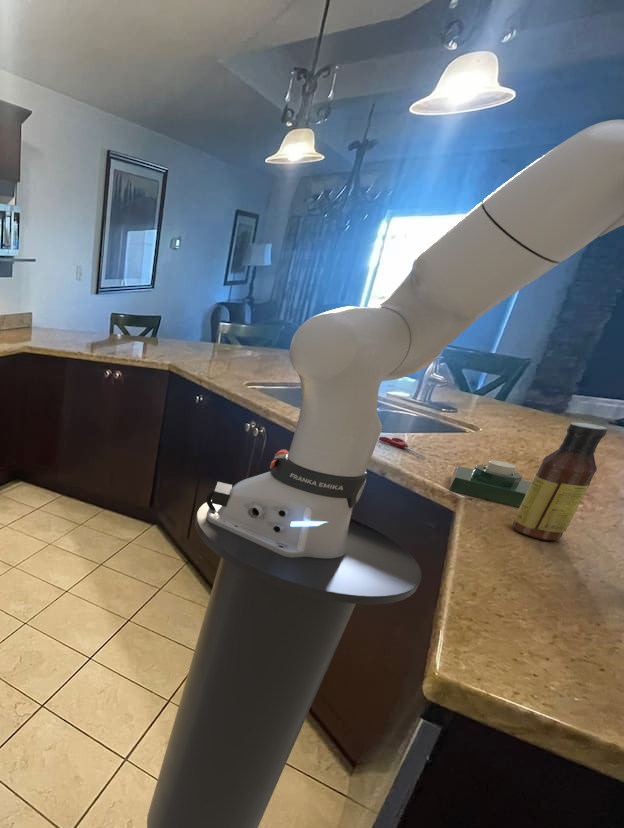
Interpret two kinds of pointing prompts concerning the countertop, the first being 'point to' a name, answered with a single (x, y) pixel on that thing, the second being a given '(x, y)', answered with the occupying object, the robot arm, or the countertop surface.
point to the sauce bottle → (560, 484)
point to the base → (490, 485)
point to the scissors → (398, 443)
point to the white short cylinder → (500, 467)
